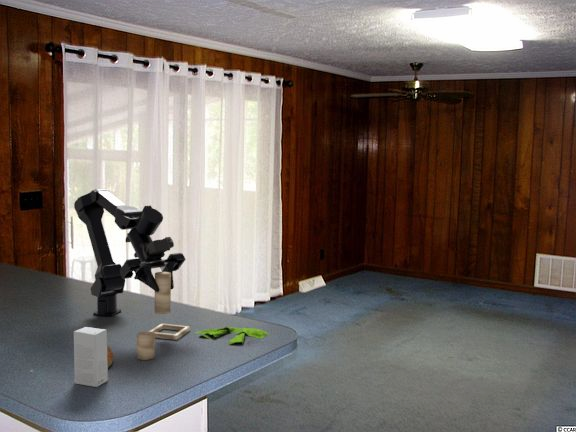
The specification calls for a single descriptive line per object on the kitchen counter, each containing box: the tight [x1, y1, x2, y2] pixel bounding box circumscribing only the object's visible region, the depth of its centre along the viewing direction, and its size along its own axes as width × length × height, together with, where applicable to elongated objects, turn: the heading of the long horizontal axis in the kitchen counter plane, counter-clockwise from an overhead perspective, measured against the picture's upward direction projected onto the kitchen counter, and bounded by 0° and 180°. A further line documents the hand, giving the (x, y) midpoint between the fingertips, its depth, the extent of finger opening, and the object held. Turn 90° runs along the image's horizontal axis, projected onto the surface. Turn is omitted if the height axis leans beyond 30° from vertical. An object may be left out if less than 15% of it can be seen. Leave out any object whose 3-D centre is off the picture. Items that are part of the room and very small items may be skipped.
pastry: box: [107, 346, 114, 368], centre depth 142 cm, size 9×7×4 cm
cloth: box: [194, 326, 270, 346], centre depth 165 cm, size 20×22×2 cm
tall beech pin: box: [154, 271, 172, 315], centre depth 163 cm, size 4×4×11 cm
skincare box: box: [73, 326, 109, 388], centre depth 130 cm, size 6×4×12 cm
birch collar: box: [149, 323, 191, 341], centre depth 166 cm, size 9×9×1 cm
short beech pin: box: [136, 330, 156, 361], centre depth 147 cm, size 4×4×6 cm
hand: (165, 289), depth 162 cm, fingers closed on tall beech pin, 4 cm apart
